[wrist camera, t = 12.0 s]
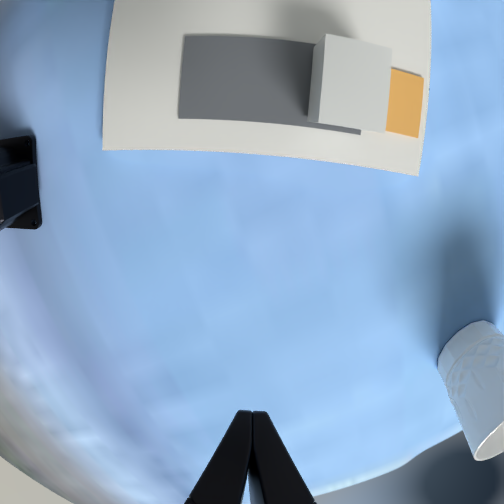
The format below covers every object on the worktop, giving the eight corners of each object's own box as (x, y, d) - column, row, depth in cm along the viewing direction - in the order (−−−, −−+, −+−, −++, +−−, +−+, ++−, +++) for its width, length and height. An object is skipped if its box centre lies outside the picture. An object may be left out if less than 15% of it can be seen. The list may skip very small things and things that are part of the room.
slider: (307, 121, 15) (318, 122, 12) (313, 47, 13) (325, 33, 11) (363, 129, 15) (385, 133, 12) (369, 58, 13) (392, 48, 11)
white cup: (418, 356, 23) (464, 449, 14) (488, 297, 21) (555, 373, 12) (445, 391, 25) (482, 467, 16) (505, 342, 23) (554, 409, 14)
